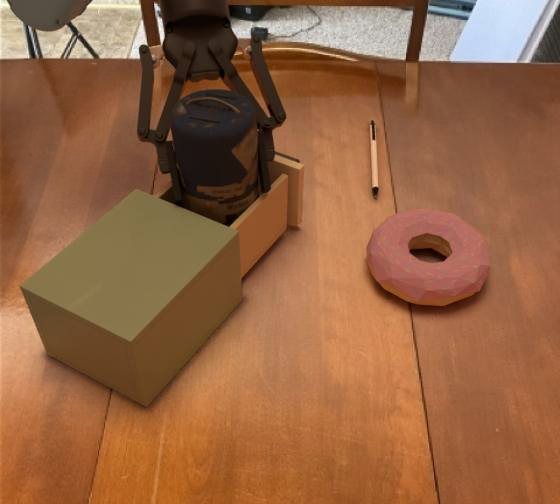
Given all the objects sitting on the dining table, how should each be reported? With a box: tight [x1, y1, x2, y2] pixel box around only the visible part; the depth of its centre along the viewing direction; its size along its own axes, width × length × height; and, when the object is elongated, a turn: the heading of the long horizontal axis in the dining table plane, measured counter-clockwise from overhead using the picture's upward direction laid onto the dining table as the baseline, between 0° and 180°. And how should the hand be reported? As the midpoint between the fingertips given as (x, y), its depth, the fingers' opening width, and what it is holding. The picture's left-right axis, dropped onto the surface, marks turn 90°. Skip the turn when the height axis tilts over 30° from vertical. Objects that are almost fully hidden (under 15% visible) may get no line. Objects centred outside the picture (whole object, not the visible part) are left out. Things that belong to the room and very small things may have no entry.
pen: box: [369, 119, 380, 198], centre depth 101 cm, size 1×19×1 cm, turn 177°
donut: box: [365, 208, 491, 307], centre depth 84 cm, size 16×15×5 cm
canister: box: [170, 88, 259, 227], centre depth 79 cm, size 10×10×18 cm
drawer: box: [153, 150, 305, 279], centre depth 86 cm, size 22×13×9 cm, turn 149°
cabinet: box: [19, 188, 243, 408], centre depth 76 cm, size 19×14×11 cm
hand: (222, 196), depth 78 cm, fingers closed on canister, 9 cm apart
